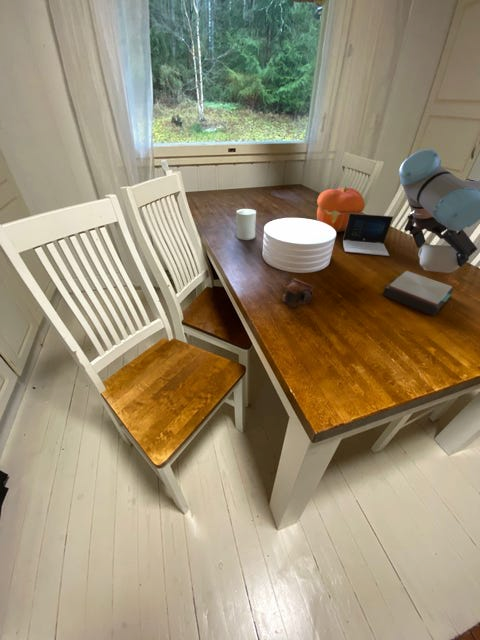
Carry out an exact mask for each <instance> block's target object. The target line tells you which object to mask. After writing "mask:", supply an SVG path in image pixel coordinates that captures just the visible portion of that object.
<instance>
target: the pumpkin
mask: <svg viewBox="0 0 480 640" xmlns="http://www.w3.org/2000/svg"><path fill="white" fill-rule="evenodd" d="M316 203H317V206H318V207H317V210H316V221H320V222H323V223H325V224H327V225H329V226H331V227H332V228H334V229H335V231H336V233H340V232H345V230H346V226H347V222H348V218H349V214H350V213H354V214H363V211H364V210H365V206H366V205H365V198H364V197H363V195H362V194H361V193H360V192H359V191H358V190H357V189H355V188H352V187H346V186H344V187H340V188H337V189H335V188H328V189H326V190H324V191H322V192H321V193H320V194H319V195H318V197H317V201H316Z"/></svg>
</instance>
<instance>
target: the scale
mask: <svg viewBox="0 0 480 640" xmlns="http://www.w3.org/2000/svg"><path fill="white" fill-rule="evenodd" d="M454 290H455V289H454V288H453V286H452V285H450V284H446V283H443V282H441V281H437V280H436V279H435V280H434V279H432V278H429V277H426V276H423V275H421V274H417V273H414V272H412V271H409V270H406V271H403V272H402V273H400V275H399V276H397V277H396V278H395V279H394V280H393V281H391V282H390V283H389V284H388V285H386V286H385V287H384V289H383V292H382V296H384V297H385V298H388V299H391V300H393V301H396V302H398V303H400V304H402V305H405V306H407V307H410V308H413V309H415V310H417V311H420V312H422V313H425V314H427V315H429V316H432V317H435V315H436V314H437V313H438V312H439V311H440V309H441V308H442V307H443V306H444V305H445V303H446V302H447V301H448V300H449V298H450V297H451V296H452V293H453V292H454Z"/></svg>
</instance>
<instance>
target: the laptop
mask: <svg viewBox="0 0 480 640" xmlns="http://www.w3.org/2000/svg"><path fill="white" fill-rule="evenodd" d="M393 218H394V216H390V215H381V214H367V213H362V214H354V213H350V214H349V218H348V222H347V226H346V230H345V231H344V234H343V238H342V245H343V249H344V253H350V254H361V255H370V256H371V255H373V256H380V257H381V256H382V257H390V254H389V252H388V249H387V248H386V246H385V241H386V238H387V236H388V233H389V230H390V228H391V224H392V222H393Z"/></svg>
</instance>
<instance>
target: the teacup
mask: <svg viewBox="0 0 480 640" xmlns="http://www.w3.org/2000/svg"><path fill="white" fill-rule="evenodd" d="M456 253H457V251H456V250H455V249H454V248H453V247H452V246H450V245H443V244H442V245H441V244H423V245H422V246H421V247H420V248H419V250H418V253H417V254H418V258H419V265H420V267H421V268H423V270H424V271H426V272H427V271H428V272H435V273H436V272H437V273H447V274H450V273H453V272H454V271H456V270H458V269H459V268H460V266H458V261H457V256H456Z"/></svg>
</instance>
